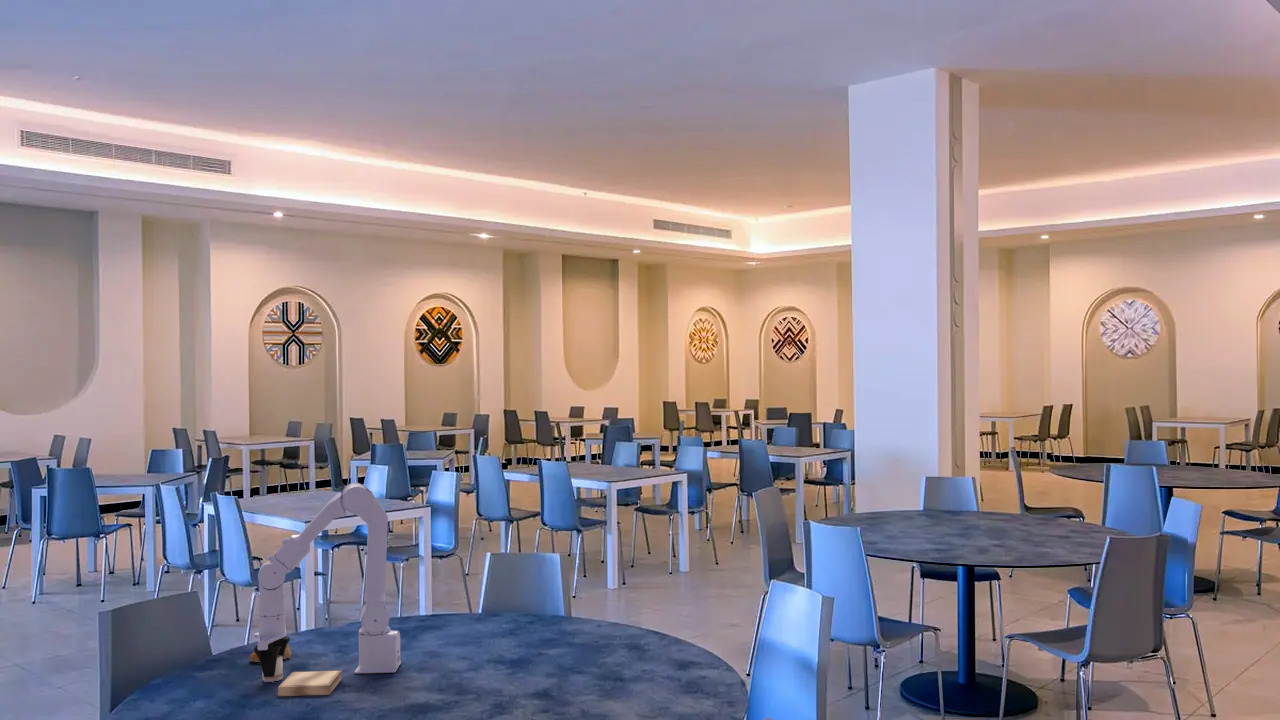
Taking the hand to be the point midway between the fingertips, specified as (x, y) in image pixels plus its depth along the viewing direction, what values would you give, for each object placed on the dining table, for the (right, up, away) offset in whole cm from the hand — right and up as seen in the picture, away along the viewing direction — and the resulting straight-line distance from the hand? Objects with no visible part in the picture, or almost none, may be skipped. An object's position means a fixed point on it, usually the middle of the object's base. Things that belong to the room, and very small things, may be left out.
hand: (272, 673), depth 233 cm
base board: (+11, -1, -6) cm, 13 cm away
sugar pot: (0, -2, 0) cm, 2 cm away
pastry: (-6, -2, +17) cm, 18 cm away
